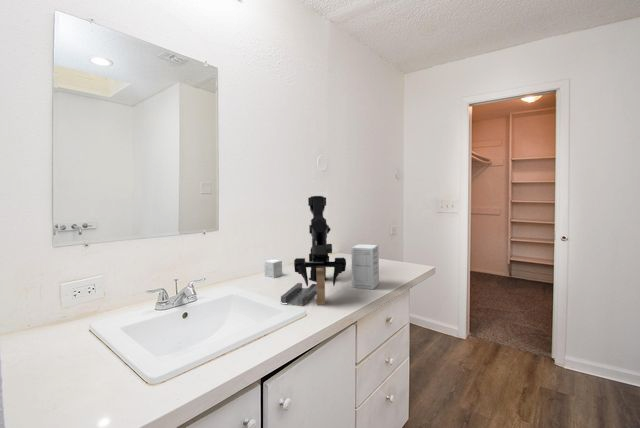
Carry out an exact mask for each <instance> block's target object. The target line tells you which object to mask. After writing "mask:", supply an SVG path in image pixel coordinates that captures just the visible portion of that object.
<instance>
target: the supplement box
mask: <svg viewBox="0 0 640 428" xmlns="http://www.w3.org/2000/svg"><path fill="white" fill-rule="evenodd" d="M379 250H380V249H379V245H378V244H362V243H360V244H355V245H354V246H352V247H351V287H352V288H357V289H358V288H359V289H366V290H374V289H376V288H377V287H378V285H380V267H379V265H380V264H379V263H380V262H379V261H380V258H379V254H380V253H379V252H380V251H379Z"/></svg>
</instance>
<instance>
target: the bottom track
mask: <svg viewBox="0 0 640 428" xmlns="http://www.w3.org/2000/svg"><path fill="white" fill-rule="evenodd" d="M315 293H317V283H312V284H311V285H309V286H308V287H307V288H305V287H303V282H302V283H301V282H297V283H296V284H294V286H292V287H291V288H290V289H288V290H287V291H286V292H285V293H284V294H282V295H281V296H280V303H281V302H282V303H287V304H286V305H288V304H292V305H291V306H304V305H305V304H306V302H308V301H309V300H310V298H312V296H313V295H314V294H315Z"/></svg>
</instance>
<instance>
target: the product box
mask: <svg viewBox="0 0 640 428" xmlns="http://www.w3.org/2000/svg"><path fill="white" fill-rule="evenodd" d="M280 276H283V260H281V259H276V258H275V259H268V260H264V277H265V278H272V279H275V278H279V277H280Z"/></svg>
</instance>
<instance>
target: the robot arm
mask: <svg viewBox="0 0 640 428" xmlns="http://www.w3.org/2000/svg"><path fill="white" fill-rule="evenodd" d="M307 202H308V203H307V205H308V206H309V211H310V213H311V214H312V218H311V219H310V224H309V226H308V227H309V228H308V229H309V231H308V232H309V235H311V247H310V253H309V254H308V261H306V258H304V257H300V258H297V257H296V258H295V259H294V260H293V261H294V262H293V267H294V272H295V273H297V274H299V275H301V277H302V278H303V280H304V283H305V285H306V287H309V280H311V281H314V282H317V278H316V268H324V270H325V281H327V280H329V278H328V277H327V274H326V273H327V270H326V269H327V268H333V277H332V279H333V280H332V284H333V285H332V287H335V286H336V282H337V279H338V277H339V275H340V274H342V273H343V272H345V271H346V268H347V259H346V258H345V257H334V261H330V255H329V254H333V243H327V238H328V234H330V232H331V227H330V226H329V224H327V219H326V218H325V217H324V211H325V209H326V206H327V197H326V196H324V195H311V196H310V197H308V198H307ZM307 268H310V277H309V278H308V270H307Z"/></svg>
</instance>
